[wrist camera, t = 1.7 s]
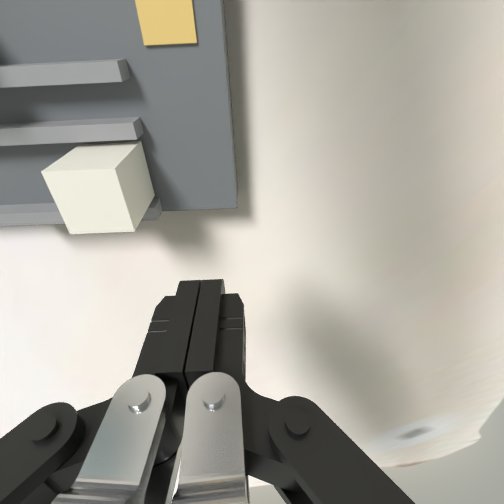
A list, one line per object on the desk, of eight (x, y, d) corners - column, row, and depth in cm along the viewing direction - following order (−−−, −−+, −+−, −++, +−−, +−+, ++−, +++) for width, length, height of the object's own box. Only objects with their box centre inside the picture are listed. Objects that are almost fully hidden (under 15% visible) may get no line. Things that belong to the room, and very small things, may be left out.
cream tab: (81, 143, 20) (40, 171, 16) (141, 140, 20) (114, 168, 16) (101, 197, 23) (70, 234, 19) (154, 195, 23) (134, 231, 19)
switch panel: (-210, -54, 17) (-333, -76, 14) (217, -79, 17) (209, -108, 13) (-38, 203, 27) (-83, 230, 23) (237, 191, 26) (236, 217, 23)
